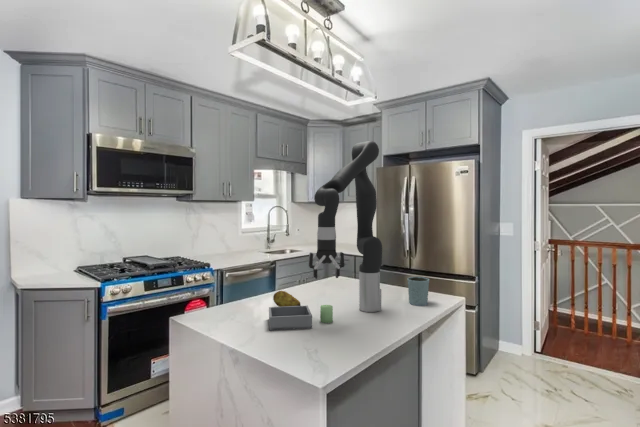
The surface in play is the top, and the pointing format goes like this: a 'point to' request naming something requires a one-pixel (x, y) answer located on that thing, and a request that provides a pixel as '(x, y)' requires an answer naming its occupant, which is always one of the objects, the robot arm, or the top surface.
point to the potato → (285, 299)
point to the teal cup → (418, 290)
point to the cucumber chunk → (326, 313)
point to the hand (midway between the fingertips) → (326, 278)
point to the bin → (290, 318)
